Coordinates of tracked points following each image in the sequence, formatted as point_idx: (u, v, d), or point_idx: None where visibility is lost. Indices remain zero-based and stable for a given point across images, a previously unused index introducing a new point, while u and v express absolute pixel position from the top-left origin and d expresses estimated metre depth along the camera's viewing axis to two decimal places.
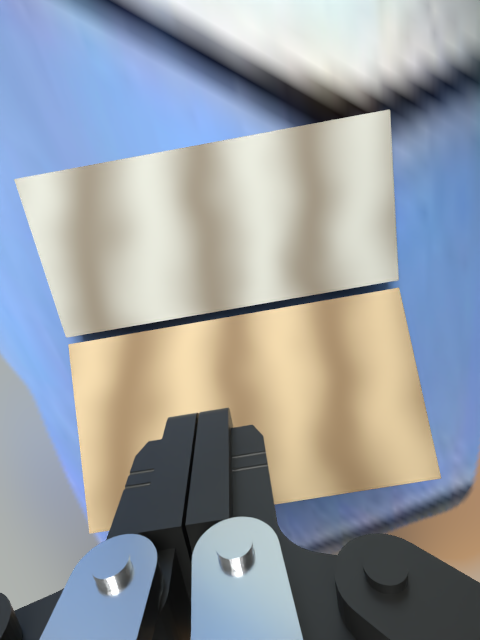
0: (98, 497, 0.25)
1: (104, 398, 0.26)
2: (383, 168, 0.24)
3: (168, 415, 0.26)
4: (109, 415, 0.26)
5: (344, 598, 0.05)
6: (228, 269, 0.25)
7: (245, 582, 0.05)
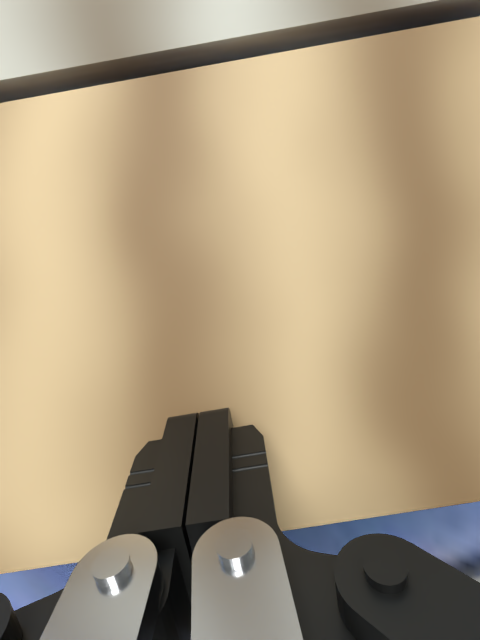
0: None
1: None
2: None
3: None
4: None
5: (344, 598, 0.05)
6: None
7: (245, 582, 0.05)
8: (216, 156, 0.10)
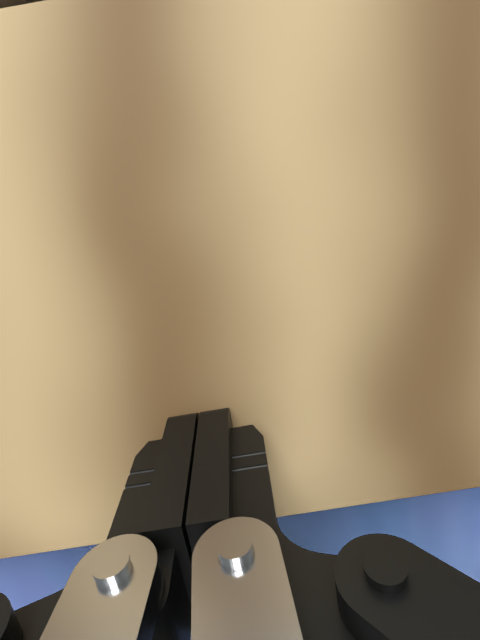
0: None
1: None
2: None
3: None
4: None
5: (344, 598, 0.05)
6: None
7: (245, 582, 0.05)
8: (210, 121, 0.08)
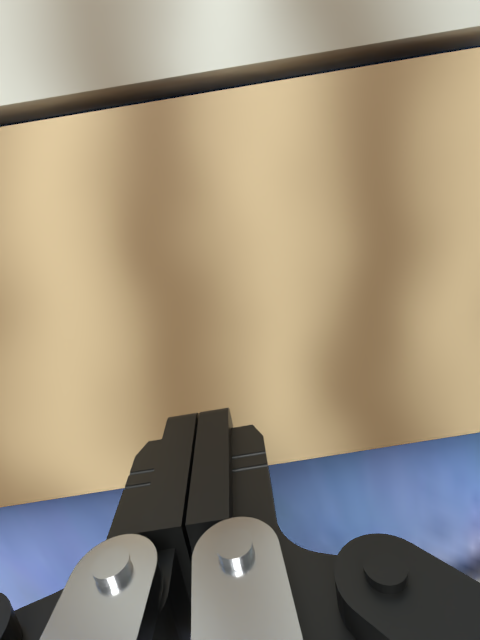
0: None
1: None
2: None
3: (28, 326, 0.13)
4: None
5: (344, 598, 0.05)
6: None
7: (245, 582, 0.05)
8: (208, 184, 0.12)
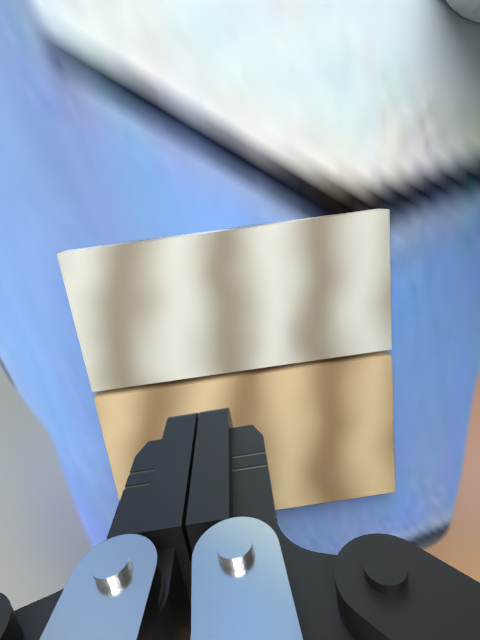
0: None
1: (132, 441, 0.30)
2: (382, 256, 0.27)
3: None
4: (137, 453, 0.30)
5: (344, 598, 0.05)
6: (243, 336, 0.28)
7: (245, 582, 0.05)
8: (265, 402, 0.30)
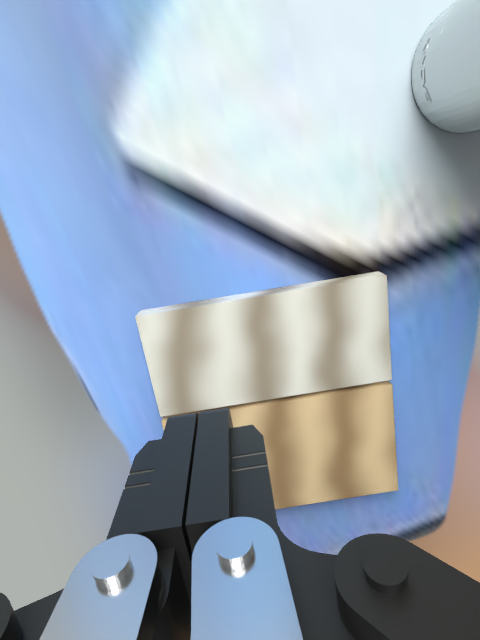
0: None
1: None
2: (382, 310, 0.35)
3: None
4: None
5: (344, 598, 0.05)
6: (275, 372, 0.37)
7: (245, 582, 0.05)
8: (292, 422, 0.38)
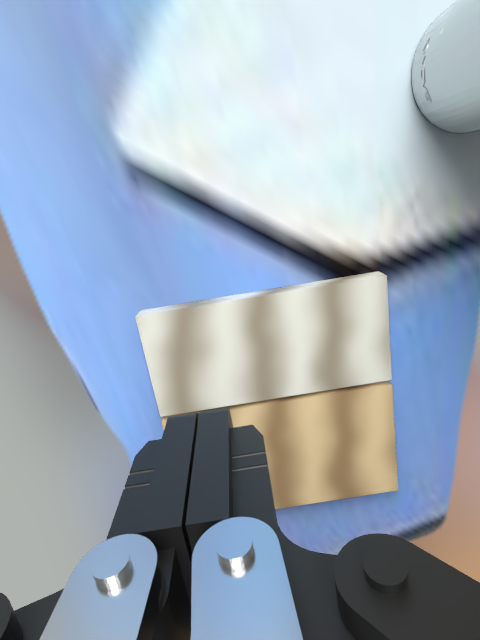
0: None
1: None
2: (382, 310, 0.35)
3: None
4: None
5: (344, 598, 0.05)
6: (275, 372, 0.37)
7: (245, 582, 0.05)
8: (292, 422, 0.38)
